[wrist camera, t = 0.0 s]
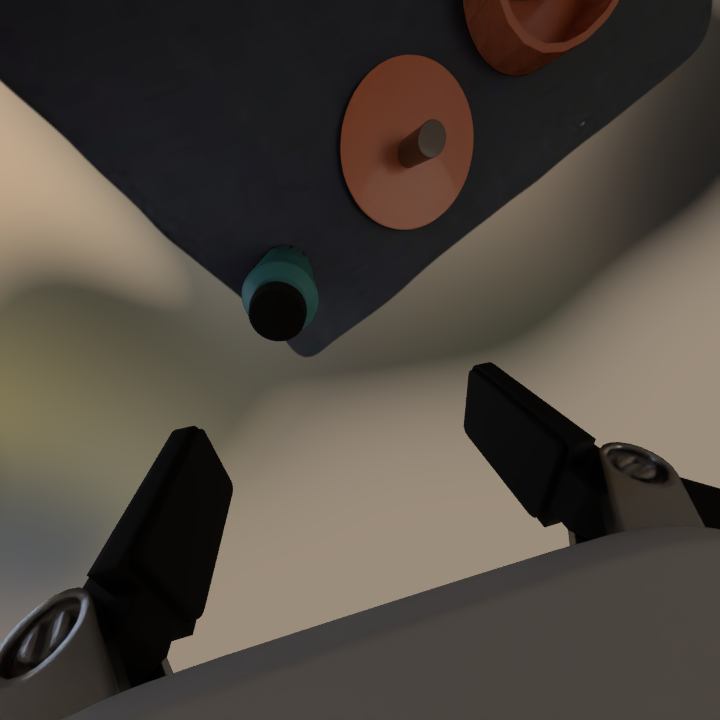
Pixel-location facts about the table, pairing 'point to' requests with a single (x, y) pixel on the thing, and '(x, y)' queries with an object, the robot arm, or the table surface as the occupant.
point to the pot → (531, 30)
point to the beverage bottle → (280, 293)
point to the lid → (406, 142)
